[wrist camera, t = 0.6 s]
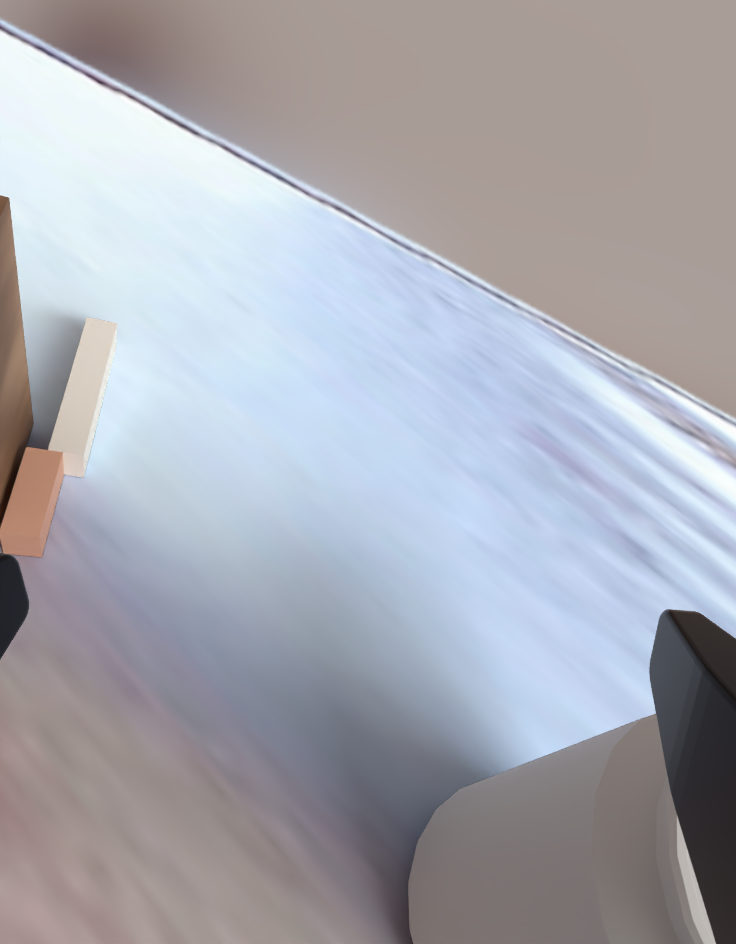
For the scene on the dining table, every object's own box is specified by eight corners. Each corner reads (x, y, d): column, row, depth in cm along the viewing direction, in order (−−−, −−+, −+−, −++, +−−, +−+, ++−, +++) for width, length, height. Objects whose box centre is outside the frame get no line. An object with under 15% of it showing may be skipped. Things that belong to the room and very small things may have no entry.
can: (358, 844, 21) (573, 774, 12) (524, 749, 24) (786, 639, 15) (471, 1128, 18) (885, 1339, 9) (641, 969, 21) (1054, 996, 12)
